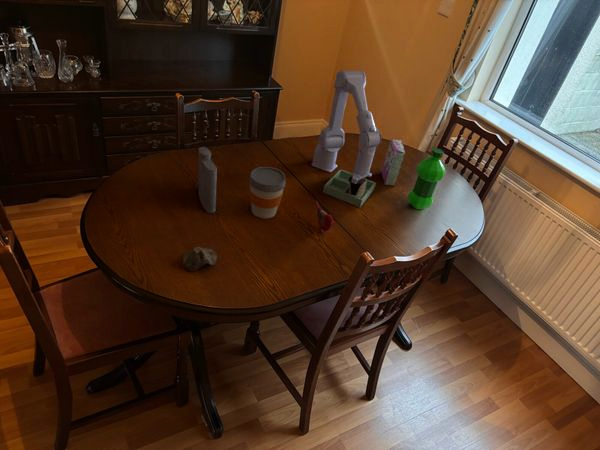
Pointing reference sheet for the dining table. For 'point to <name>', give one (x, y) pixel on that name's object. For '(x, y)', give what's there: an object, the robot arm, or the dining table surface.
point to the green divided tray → (346, 188)
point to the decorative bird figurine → (324, 219)
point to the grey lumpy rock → (199, 258)
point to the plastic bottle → (427, 180)
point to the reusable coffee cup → (266, 191)
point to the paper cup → (360, 189)
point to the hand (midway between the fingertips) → (356, 191)
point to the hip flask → (207, 180)
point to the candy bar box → (393, 162)
